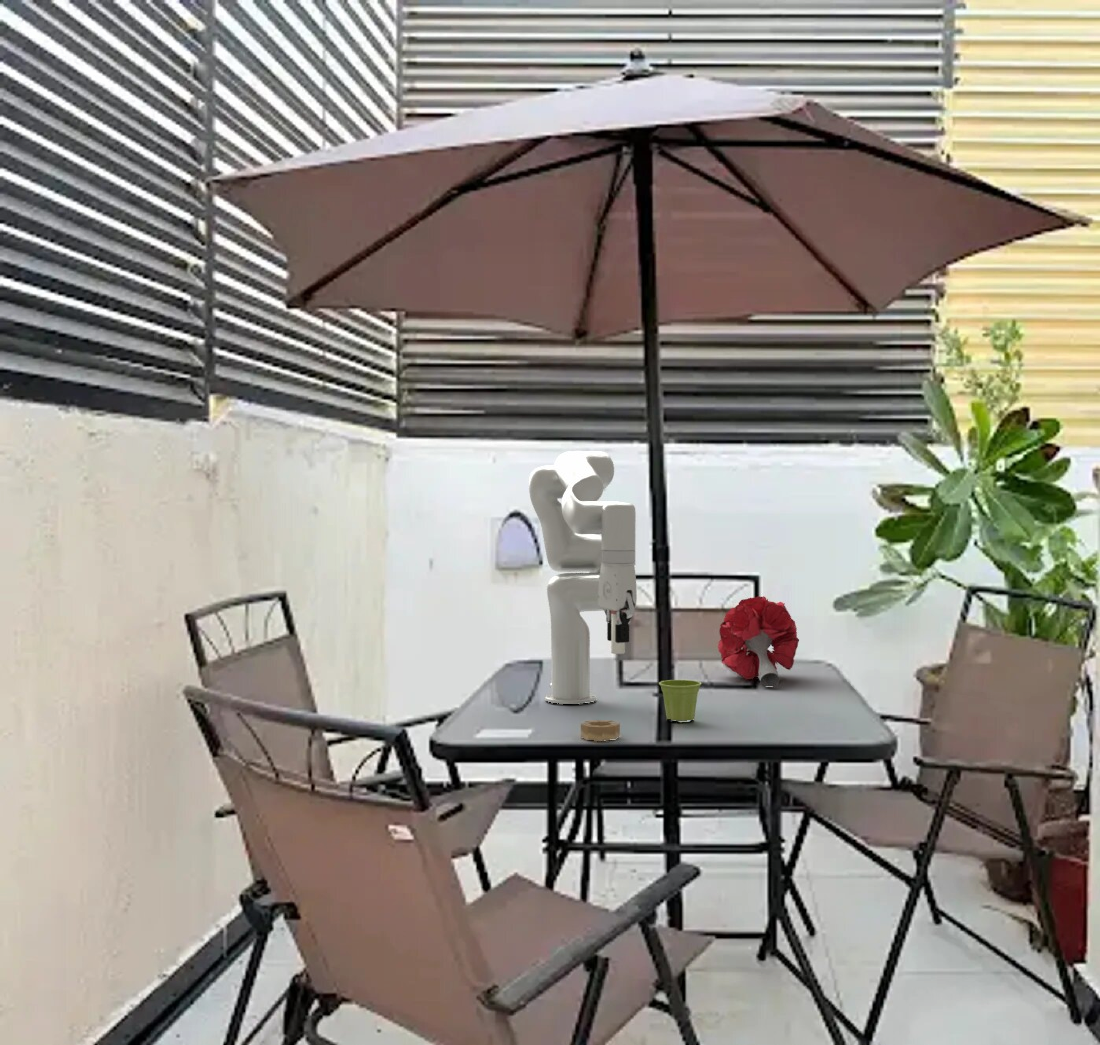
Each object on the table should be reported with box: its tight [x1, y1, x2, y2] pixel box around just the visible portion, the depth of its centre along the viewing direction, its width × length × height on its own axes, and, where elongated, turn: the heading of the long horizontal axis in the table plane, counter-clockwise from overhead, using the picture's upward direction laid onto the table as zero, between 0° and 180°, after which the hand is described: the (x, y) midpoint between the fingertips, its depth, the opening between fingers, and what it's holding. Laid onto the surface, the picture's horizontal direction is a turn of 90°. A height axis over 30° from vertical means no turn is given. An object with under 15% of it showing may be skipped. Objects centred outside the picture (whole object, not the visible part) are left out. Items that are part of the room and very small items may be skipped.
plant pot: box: [658, 679, 702, 721], centre depth 268 cm, size 9×9×9 cm
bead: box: [580, 719, 621, 742], centre depth 249 cm, size 8×8×3 cm
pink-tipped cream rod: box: [610, 608, 626, 655], centre depth 265 cm, size 3×3×10 cm
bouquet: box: [717, 595, 800, 687], centre depth 327 cm, size 22×24×30 cm
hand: (618, 640), depth 265 cm, fingers closed on pink-tipped cream rod, 3 cm apart
